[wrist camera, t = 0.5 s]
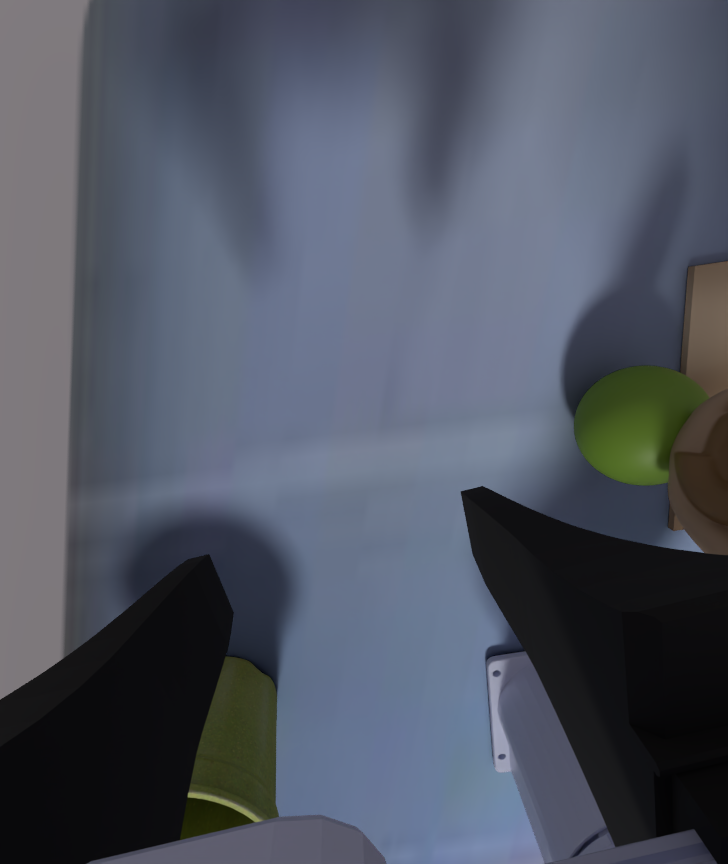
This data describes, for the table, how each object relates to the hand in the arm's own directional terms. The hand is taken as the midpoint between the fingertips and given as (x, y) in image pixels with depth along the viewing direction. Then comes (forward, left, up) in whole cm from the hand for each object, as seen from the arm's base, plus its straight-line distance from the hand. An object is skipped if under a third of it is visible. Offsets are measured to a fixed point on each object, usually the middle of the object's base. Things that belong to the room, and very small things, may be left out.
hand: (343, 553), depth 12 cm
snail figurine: (-1, -13, -11) cm, 17 cm away
